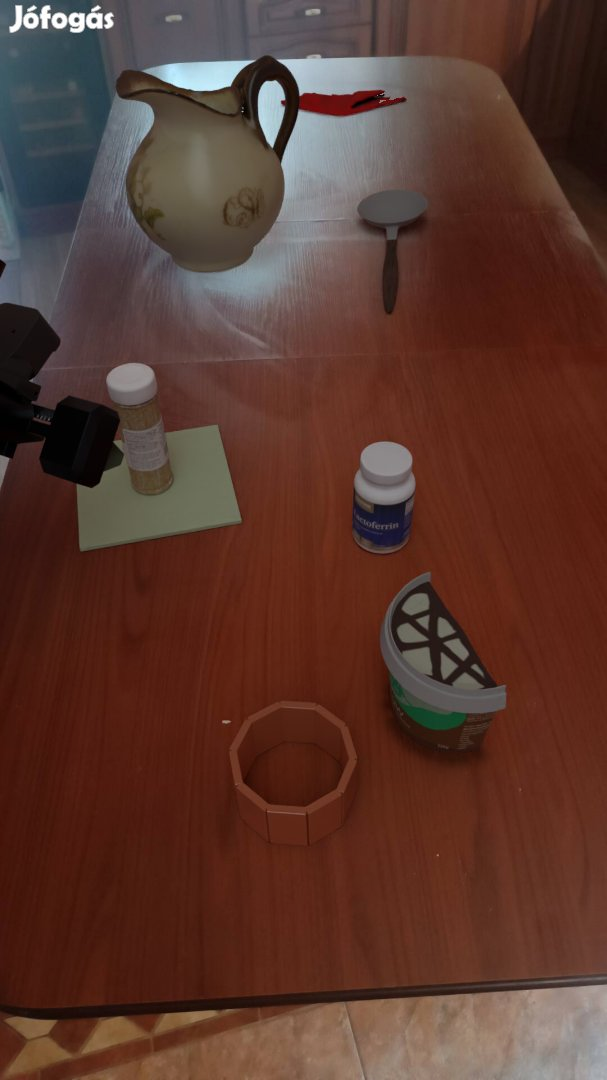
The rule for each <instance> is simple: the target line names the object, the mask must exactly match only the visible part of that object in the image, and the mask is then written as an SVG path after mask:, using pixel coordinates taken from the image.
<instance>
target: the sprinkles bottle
mask: <svg viewBox="0 0 607 1080" xmlns="http://www.w3.org/2000/svg"><path fill="white" fill-rule="evenodd" d="M105 382H106V387H107V393H108V396H109V399H111V402H112V404H113V408H114V409H113V410H115V411H117V412H118V415H119V417H120V423H119V426H118V431H119V434H120V440H121V442H122V446H123V450H124V455H125V459H126V462H127V464H128V468H129V472H130V477H131V485H132V487H133V488H134V490H136V491H137V492H139V493H142V494H151V495H152V494H158V493H161V492H163V491H165V490H166V489H168V488H169V487H170V486H171V485H172V482H173V478H174V476H173V473H172V471H171V467H170V462H169V452H168V447H167V441H166V436H165V433H166V432H165V426H164V420H163V415H162V412H161V407H160V403H159V398H158V397H159V396H158V383H157V378H156V374H155V371H154V369H153V368H151V366H149V365H147V364H144V363H139V362H129V363H124V364H122V365H118V366H116V367H115V368H113V369H112V370H110V371H109V372H108V373H107V376H106V379H105Z"/></svg>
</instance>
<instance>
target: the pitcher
mask: <svg viewBox="0 0 607 1080" xmlns="http://www.w3.org/2000/svg"><path fill="white" fill-rule="evenodd" d="M274 81H276V82H277V83H278V84H279V86H280V87H281V88H282V91H283V95H284V100H285V105H284V111H283V116H282V119H281V123H280V125H279V129H278V132H277V135H276V137H275V140H274V143H273V145H271V144H270V143H269V142H268V140H267V137H266V135H265V132H264V130H263V127H262V125H261V122H260V116H259V95H260V91H261V88H262V87H263V85H265V83H266V82H274ZM115 92H116V94H117V97H119V98H120V99H122V100H126V101H135V102H140V103H144V104H147V105H148V106H149V107H150V108H151V110H152V112H153V123H152V125H151V127H150V128H149V130H148V132H147V133H146V135H145V136H144V138H143V139H142V140H141V142H140V143H139V145H138V147H137V148H136V150H135V152H134V154H133V155H132V157H131V159H130V161H129V164H128V168H127V170H126V171H127V172H126V177H125V193H126V200H127V203H128V207H129V209H130V212H131V214H132V216H133V218H134V220H135V222H136V223H137V226H139V228H140V229H141V230H142V233H144V234H145V235H146V236H147V238H148V239H149V240H150V241H151V242H152V243H154V244H155V245H156V246H157V247H159V248H160V249H161V250H163V251H164V252H166V253H167V254H168V255H170V257H171V260H172V261H173V262H174V263H175V264H176V265H177V266H179V267H180V268H181V269H184V270H186V271H191V272H196V273H217V272H225V271H229V270H231V269H234V268H237V267H240V266H242V265H243V264H245V263H246V262H247V261H248V260H249V259H250V258H251V257H252V255H253V253H254V248H255V247H257V246H258V245H259V244H260V243H261V242H262V241H263V240H264V238H265V237H266V236H267V235H268V234H269V232H270V231H271V230H272V229H273V226H274V224H275V223H276V221H277V219H278V218H279V215H280V213H281V211H282V210H281V209H282V206H283V203H284V199H285V191H286V190H285V189H286V182H285V173H284V169H283V166H282V163H283V158H284V155H285V152H286V149H287V147H288V143H289V141H290V139H291V136H292V134H293V132H294V129H295V126H296V122H297V120H298V116H299V112H300V109H299V105H300V96H301V95H300V88H299V85H298V82H297V79H296V78H295V76H294V74H293V73H292V72H291V71H290V69H289V68H288V67H287V66H286V65H285V64H284V63H283V62H281V61H279V60H278V59H277V58H276V57H274V56H273V55H269V54H265V55H262V56H261V57H259V58H257V59H256V60H254V61H252V62H250V63H248V64H247V65H245V66H243V68H241V70H239V72H238V73H237V74H236V76H235V77H234V79H233V80H232V82H231V84H230V85H228V86H225V87H221V88H218V89H213V90H194V89H192V88H184V87H181V86H180V87H179V86H177V85H175V84H173V83H171V82H167V81H165V80H162V79H161V78H159V77H158V76H155V75H153V74H150V73H147V72H146V71H143V70H138V69H137V70H136V69H124V70H122V71H121V73H120V75H119V76H118V77H117V79H116V80H115Z"/></svg>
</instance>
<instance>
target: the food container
mask: <svg viewBox="0 0 607 1080" xmlns="http://www.w3.org/2000/svg"><path fill="white" fill-rule="evenodd" d="M431 576H432V571H428V572H425V573H422V574H420V575H419V576H417V577H415V578H413V579H411V580H410V581H409V582H408V583H407V584H405V585H404V586H403V587H402V588H401V590H400V591H399V592H398V593H396V595H395V596H394V597H393V599H392V601H391V602H390V604H389V606H388V608H387V610H386V613H385V615H384V618H383V620H382V623H381V627H380V633H379V647H380V652H381V656H382V658H383V661H384V663H385V665H386V667H387V669H388V671H389V700H390V706H391V711H392V715H393V717H394V720H395V722H396V723H397V725H398V726H399V728H400V729H401V730H402V732H404V733H405V734H406V736H408V737H409V738H410V739H411V740H413V741H414V742H415V743H417V744H419V745H421V746H422V747H425V748H427V749H430V750H433V751H436V752H440V753H446V754H463V753H470V752H474V751H477V750H480V749H481V747H482V745H483V742H484V739H485V737H486V735H487V733H488V732H489V731H488V730H489V728H490V726H491V724H492V722H493V720H494V717H495V715H496V712H497V711H502V710H504V709H505V710H506V707H507V692H506V688H507V685H506V684H503V685H500V686H499V685H498V684H497V682H496V681H495V680H494V679H493V678H492V676H491V675H490V673H489V671H488V670H487V668H486V666H485V665H484V664H483V662H482V660H481V658H480V657H479V655H478V654H477V652H476V650H475V649H474V646H473V644H472V643H471V641H470V639H469V638H468V636H467V634H466V633H465V631H464V629H463V627H462V626H461V625H460V624H459V623H458V621H457V620H456V619H455V617H454V616H453V615H452V613H451V612H450V610H449V609H448V608H447V607H446V605H445V603H444V602H443V601H442V599H441V597H440V596H439V594H438V593H437V591H436V590H435V588H434V587H433V585H432V583H431V581H432V580H431V578H432V577H431Z"/></svg>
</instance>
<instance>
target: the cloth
mask: <svg viewBox="0 0 607 1080" xmlns="http://www.w3.org/2000/svg"><path fill="white" fill-rule="evenodd" d="M385 91H386V90H383V89H373V90H371V89H370V90H357V91H355V92H353V93H352V94H350V93H345V94H344V93H343V94H334V93H332V94H331V95H330V94H324V93H316V92H303V93H302V94H301V95H300V105H299V110H300V111H306V112H311V113H316V114H321V115H327V116H328V115H329V116H339V117H345V116H351V115H356V114H359V113H363V112H367V111H371V110H375V109H378V108H380V107H385V106H389V105H392V104H396V103H399V102H404V101H407V100H408V98H407V97H405V96H403V97H402V98H396V99H394V100H389V99H390V97H391V96H386V92H385ZM384 92H385V94H383V95H380V94H382V93H384ZM377 95H378V96H377ZM380 100H386V101H383V102H381V103H379V102H380ZM280 104H281V105H282V106H285V99H282V100H280Z"/></svg>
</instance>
